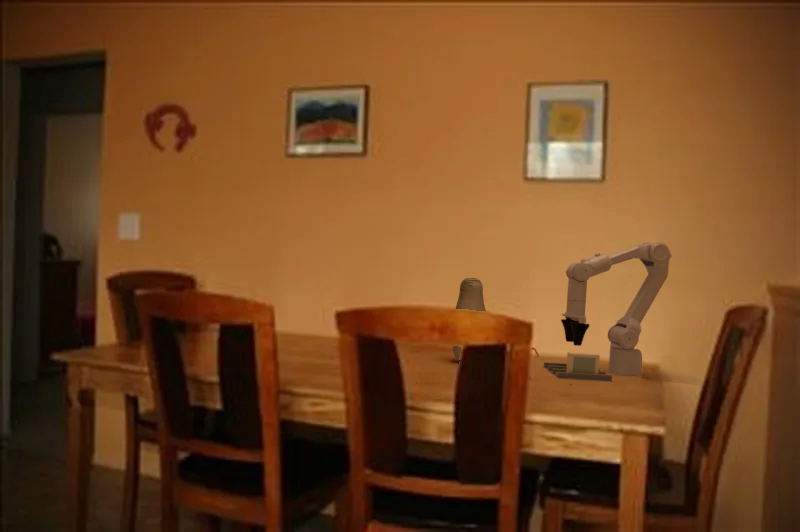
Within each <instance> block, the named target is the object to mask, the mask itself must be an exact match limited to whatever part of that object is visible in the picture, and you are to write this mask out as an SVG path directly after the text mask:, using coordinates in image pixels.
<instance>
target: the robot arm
mask: <svg viewBox="0 0 800 532" xmlns="http://www.w3.org/2000/svg"><path fill="white" fill-rule="evenodd" d="M671 257H672V254H671V250H670V249H669V246H668V245H667V244H666V243H663V242H661V241H659V242H643V243H638V244H634V245H632V246H629V247H626V248H624V249H622V250H619V251H616V252H614V253H612V254H609V255H606V254H604V253H599V252H598V253H595V254H594V256H591V257H589V258H582V259H580V262H572V263H570V264H569V266H568V267H567V268H566V269H567V270H565V275H566V276H567V279H568V283H567V294H566V295H567V296H566V310H565V313H562V317H564V318H563V319H560V321H561V324H562V326H563V329H564V336H565V340H566V342H567V343H568V342H570V343H573V346H577V347H579V346H582V344H583V342H584V338H585V335H586V333H587V331H588V329H589V328H590V324H589V323H587V316H586V306H587V305H586V304H587V288H588V287H587V286H588V280H589V279H590V278H592V277H594V276H597V275H600V274H603V273H606V272H608V271H610V269H611V268H612V266H613V265H617V264H620V263H623V262H624V263H625V262H626V261H629V260H632V259H638V260H640V261H641V263H642V264H643V265H644V267H645V268H646V272H647V275H646V277H645V280H644V281H643V283H642V284H641V286H640V288H639V289H638V292H637V293H636V295H635V297H634V298H633V300H632V302H631V303H630V305H629V306H628V309H627V311H626V312H625V314H624V316H623V317H621V318H619V319H618V320H617V321H616V322H615V324H613V326H610V328H609V329H608V332H607V339H608V341H609V342H610V345H609V358H608V361H609V362H608V373H610V374H614V375H620V376H636V377H639V378H640V379H642V378H643V377H642V367H643V366H642V365H643V353H642V350H640V349H638V348H635V347H636V346H637V345H638V343H639V341H640V339H639V338H640V334H641V332H642V327H641V323H642V321H643V320H644V318H645V316H646V314H647V313H648V311H649V309H650V308H651V306H652V305H653V302H654V301H655V298H657V295H658V294H659V292H660V291H661V288H662V287H663V285H664V284H665V282H666V280H667V278H668V276H669V269H670V267H669V265H670V264H669V263H670V259H671Z"/></svg>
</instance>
